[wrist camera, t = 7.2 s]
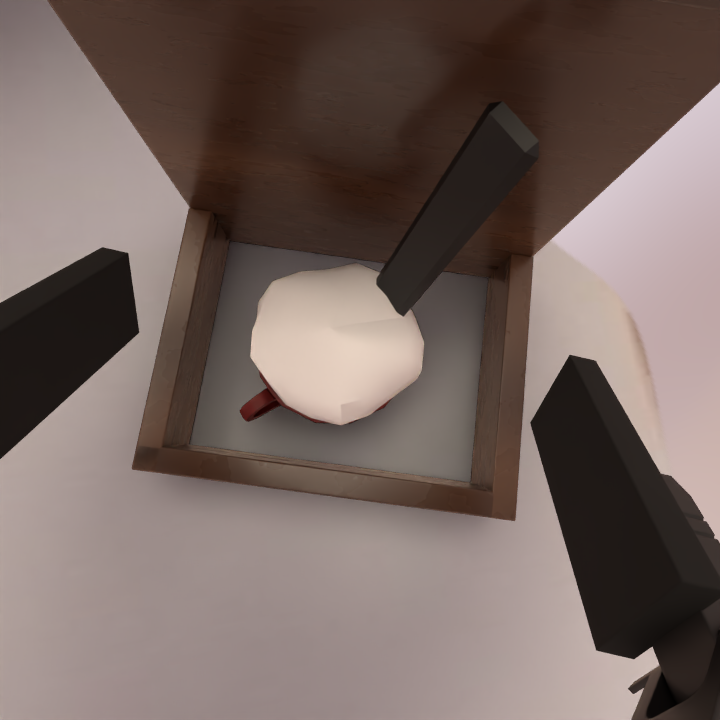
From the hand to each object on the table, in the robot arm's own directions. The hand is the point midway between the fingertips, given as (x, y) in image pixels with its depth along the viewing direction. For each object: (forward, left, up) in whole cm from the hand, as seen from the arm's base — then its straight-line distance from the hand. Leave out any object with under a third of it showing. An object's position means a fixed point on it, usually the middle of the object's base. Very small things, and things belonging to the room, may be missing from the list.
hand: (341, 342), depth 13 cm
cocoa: (-1, 0, -8) cm, 8 cm away
